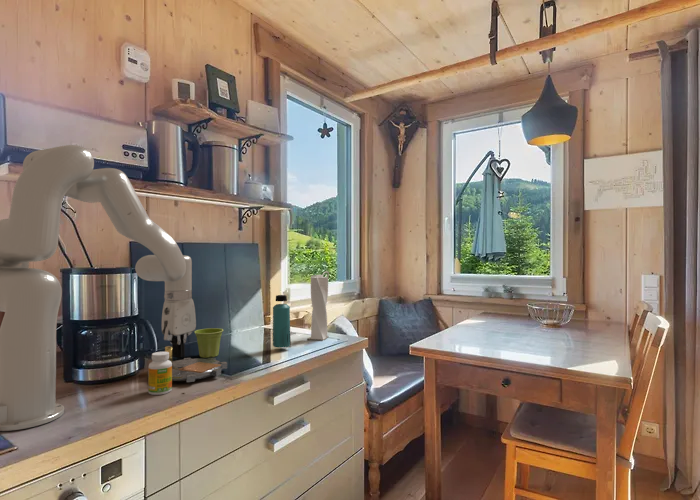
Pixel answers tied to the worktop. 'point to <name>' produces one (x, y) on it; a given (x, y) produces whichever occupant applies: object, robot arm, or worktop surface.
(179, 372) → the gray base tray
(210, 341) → the plant pot
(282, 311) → the beverage bottle
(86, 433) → the worktop surface
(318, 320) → the skyscraper
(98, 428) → the worktop surface
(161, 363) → the supplement bottle
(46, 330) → the robot arm
